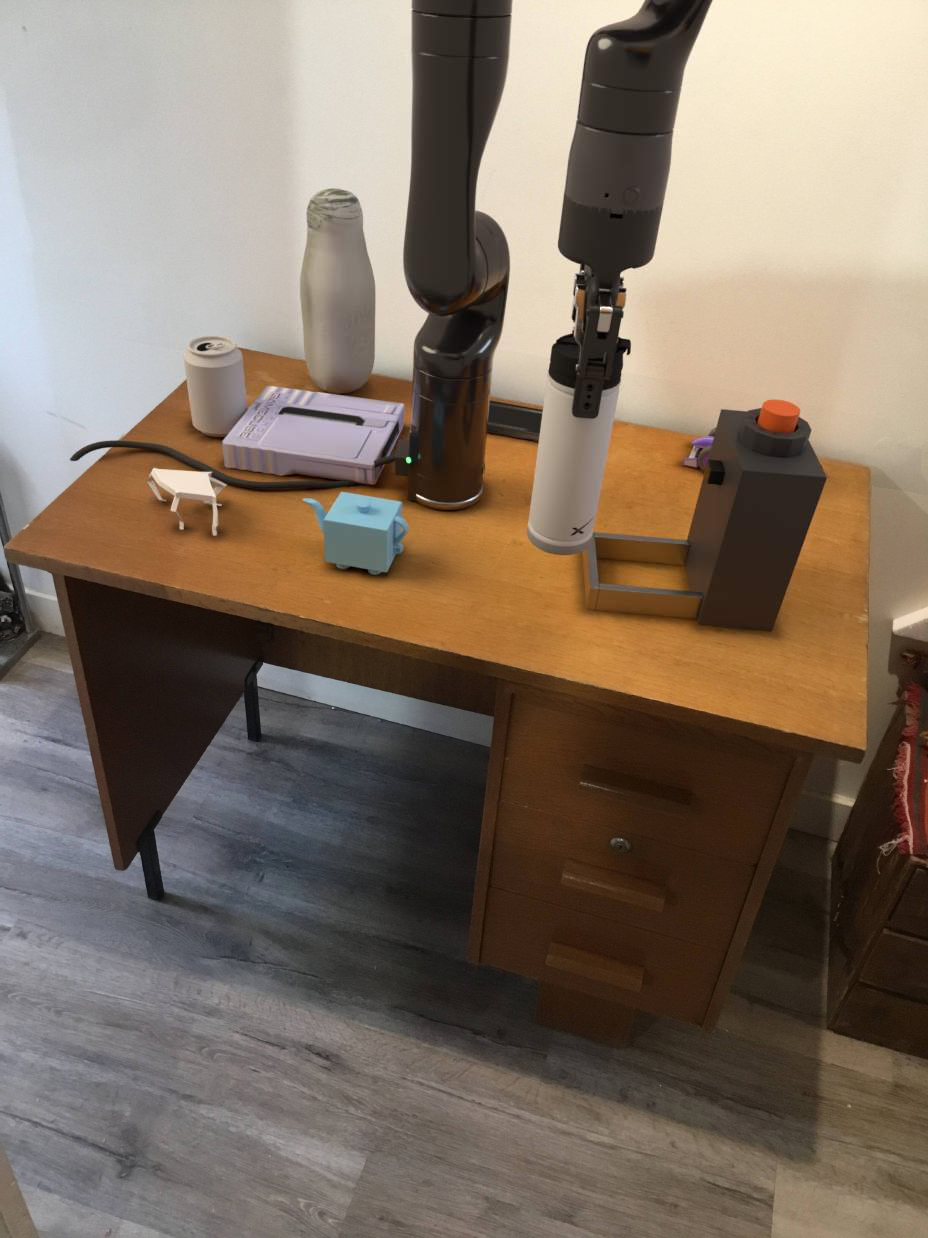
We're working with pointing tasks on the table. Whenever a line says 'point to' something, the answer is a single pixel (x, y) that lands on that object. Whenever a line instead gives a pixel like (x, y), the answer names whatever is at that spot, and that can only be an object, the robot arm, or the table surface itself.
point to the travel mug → (571, 454)
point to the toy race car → (704, 455)
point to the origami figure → (187, 489)
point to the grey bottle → (337, 294)
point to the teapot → (361, 531)
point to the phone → (514, 420)
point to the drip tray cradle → (642, 551)
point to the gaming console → (314, 435)
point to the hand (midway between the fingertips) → (582, 397)
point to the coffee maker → (752, 521)
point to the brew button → (779, 416)
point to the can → (215, 384)
